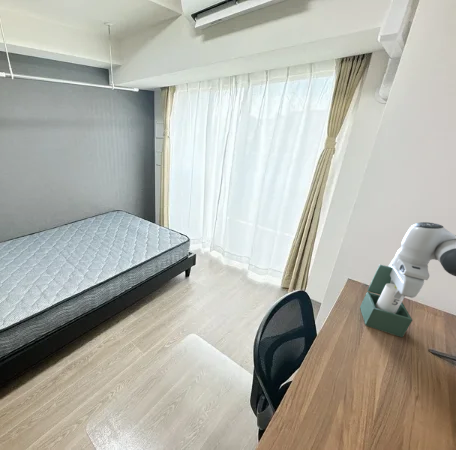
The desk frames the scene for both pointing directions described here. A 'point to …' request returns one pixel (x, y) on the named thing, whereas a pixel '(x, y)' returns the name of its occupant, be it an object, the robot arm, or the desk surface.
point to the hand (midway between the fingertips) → (393, 293)
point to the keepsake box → (384, 316)
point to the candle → (389, 299)
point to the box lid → (380, 279)
